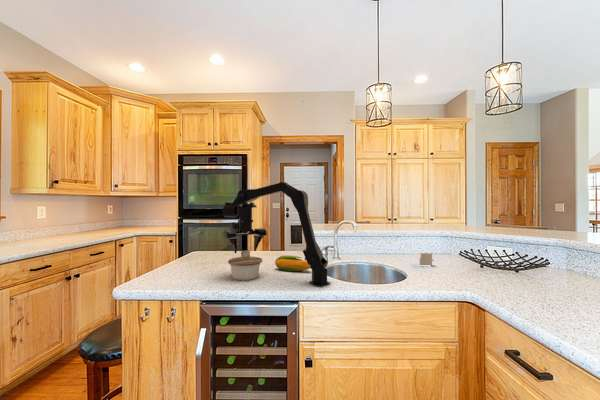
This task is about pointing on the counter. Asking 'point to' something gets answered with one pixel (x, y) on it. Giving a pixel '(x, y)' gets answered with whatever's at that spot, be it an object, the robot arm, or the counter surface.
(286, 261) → the corn
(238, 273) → the ramekin
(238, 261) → the lid
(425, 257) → the architectural model
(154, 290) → the counter surface
